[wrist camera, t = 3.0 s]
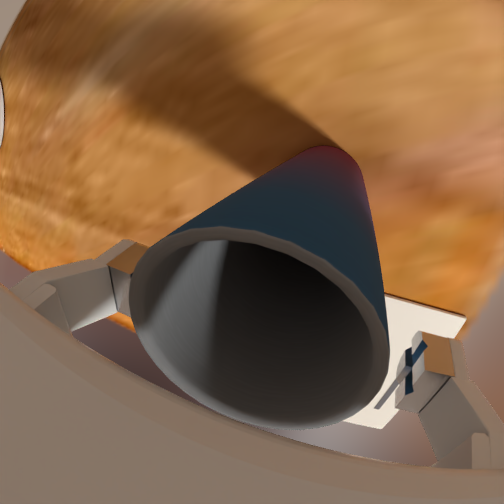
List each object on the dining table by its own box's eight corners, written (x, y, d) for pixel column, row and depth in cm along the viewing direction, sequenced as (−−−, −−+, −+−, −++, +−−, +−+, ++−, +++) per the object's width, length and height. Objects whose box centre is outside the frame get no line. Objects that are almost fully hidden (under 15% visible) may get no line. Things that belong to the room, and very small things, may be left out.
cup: (363, 121, 17) (371, 195, 4) (385, 223, 19) (389, 432, 7) (262, 145, 20) (89, 251, 7) (290, 237, 22) (191, 416, 10)
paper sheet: (220, 381, 34) (219, 383, 34) (230, 250, 25) (228, 252, 24) (381, 427, 29) (381, 429, 29) (465, 316, 20) (466, 319, 20)
